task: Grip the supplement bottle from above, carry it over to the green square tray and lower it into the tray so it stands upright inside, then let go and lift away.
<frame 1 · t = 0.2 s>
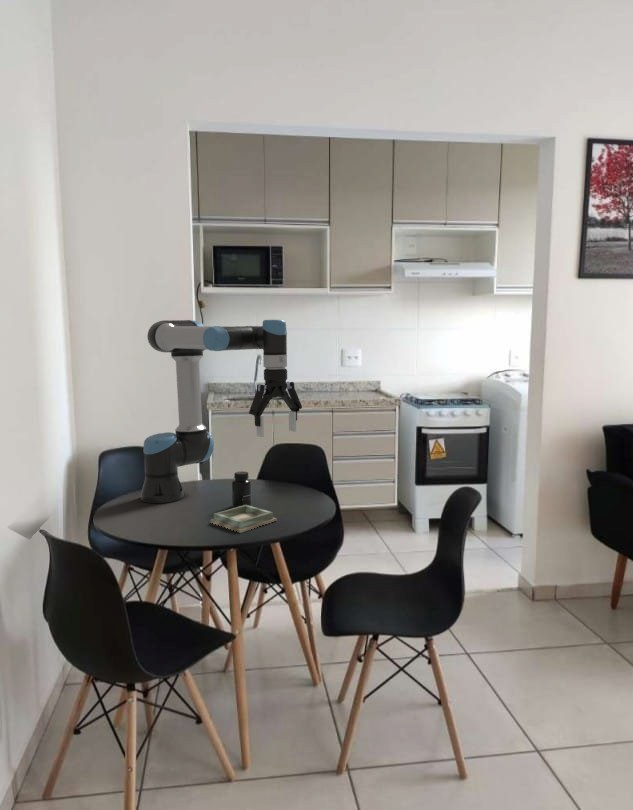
hand: (276, 433, 201), 27 cm above the table, tool pointing down, fingers open, 13 cm apart
green square tray: (243, 522, 197), on the table
supplement bottle: (242, 507, 215), on the table
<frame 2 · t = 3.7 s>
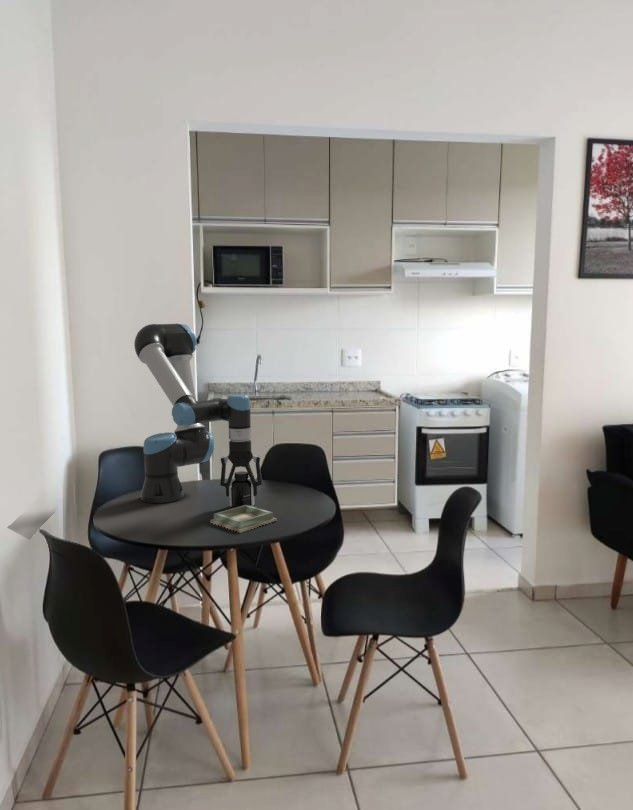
hand: (242, 504, 215), 1 cm above the table, tool pointing down, fingers closed on supplement bottle, 7 cm apart
supplement bottle: (242, 507, 215), on the table, touching gripper
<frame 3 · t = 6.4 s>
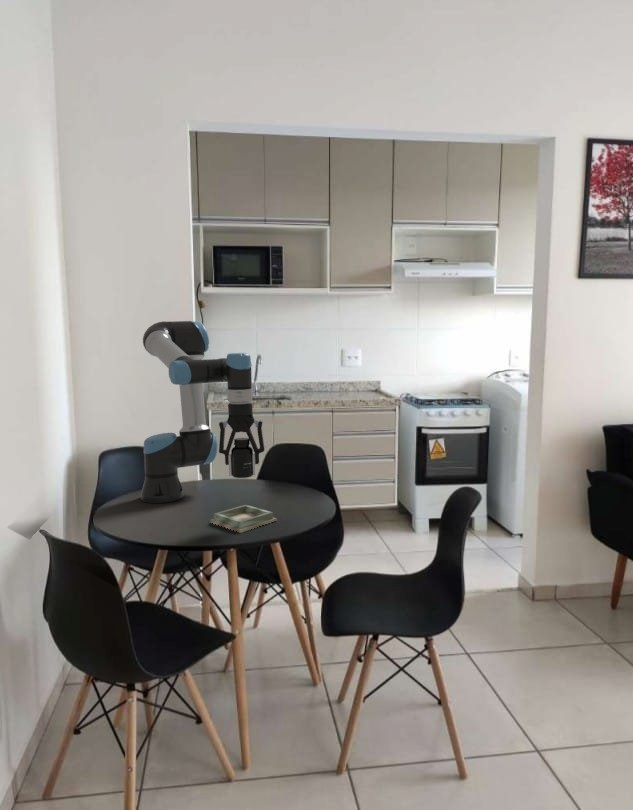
hand: (242, 474, 196), 15 cm above the table, tool pointing down, fingers closed on supplement bottle, 7 cm apart
supplement bottle: (242, 476, 196), point 15 cm above the table, touching gripper
when the fingers open (3 cm above the table, at t = 9.6 s): supplement bottle drops 1 cm, resting on green square tray.
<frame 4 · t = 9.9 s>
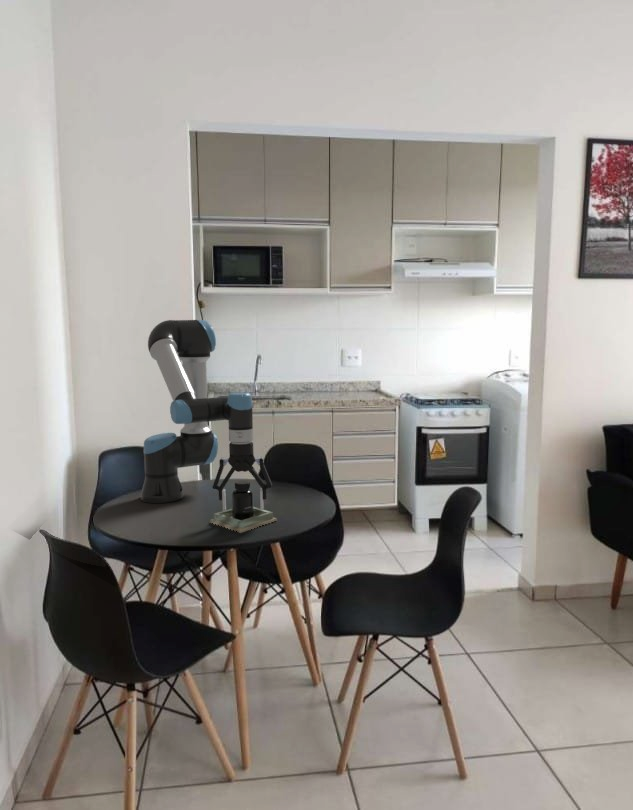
hand: (243, 509, 197), 4 cm above the table, tool pointing down, fingers open, 11 cm apart
supplement bottle: (243, 519, 197), point 1 cm above the table, touching green square tray
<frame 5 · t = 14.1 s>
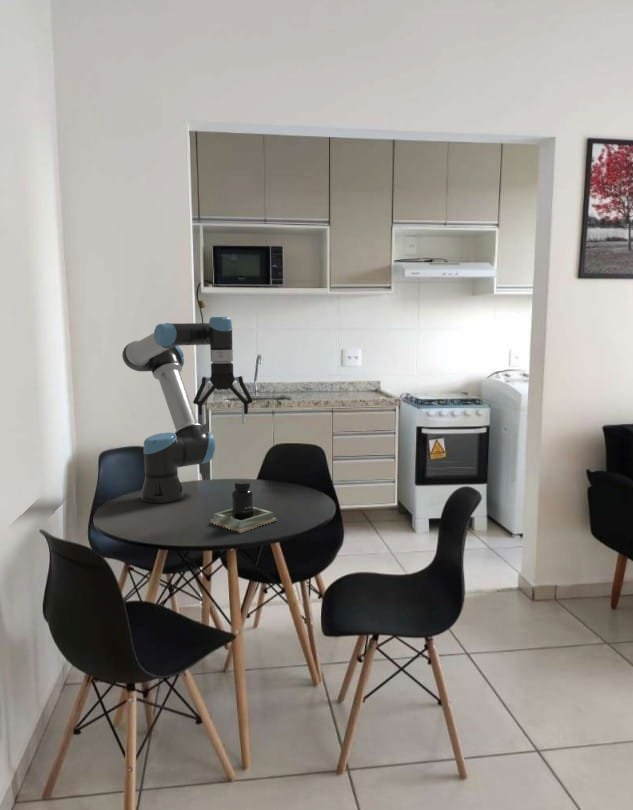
hand: (224, 423, 214), 29 cm above the table, tool pointing down, fingers open, 13 cm apart
nothing on the table moved.
at the end: supplement bottle 0.1 cm off-centre on the green square tray, point 0.8 cm above the green square tray's base; supplement bottle tilted 0°; the gripper is holding nothing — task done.
